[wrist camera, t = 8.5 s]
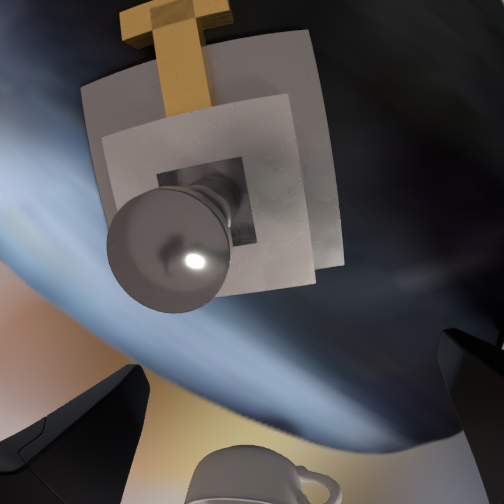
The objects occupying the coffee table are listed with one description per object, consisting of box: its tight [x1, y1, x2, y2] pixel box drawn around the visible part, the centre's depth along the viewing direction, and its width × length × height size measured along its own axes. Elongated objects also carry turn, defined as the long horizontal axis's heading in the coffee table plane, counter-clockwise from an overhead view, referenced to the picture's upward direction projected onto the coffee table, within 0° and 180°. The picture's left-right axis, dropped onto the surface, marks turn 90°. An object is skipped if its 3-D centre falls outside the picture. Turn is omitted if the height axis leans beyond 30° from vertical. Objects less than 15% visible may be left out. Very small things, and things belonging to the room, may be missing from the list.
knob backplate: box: [81, 0, 344, 297], centre depth 16 cm, size 14×17×2 cm
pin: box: [107, 175, 240, 313], centre depth 14 cm, size 4×4×9 cm
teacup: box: [184, 445, 342, 504], centre depth 23 cm, size 14×11×8 cm
